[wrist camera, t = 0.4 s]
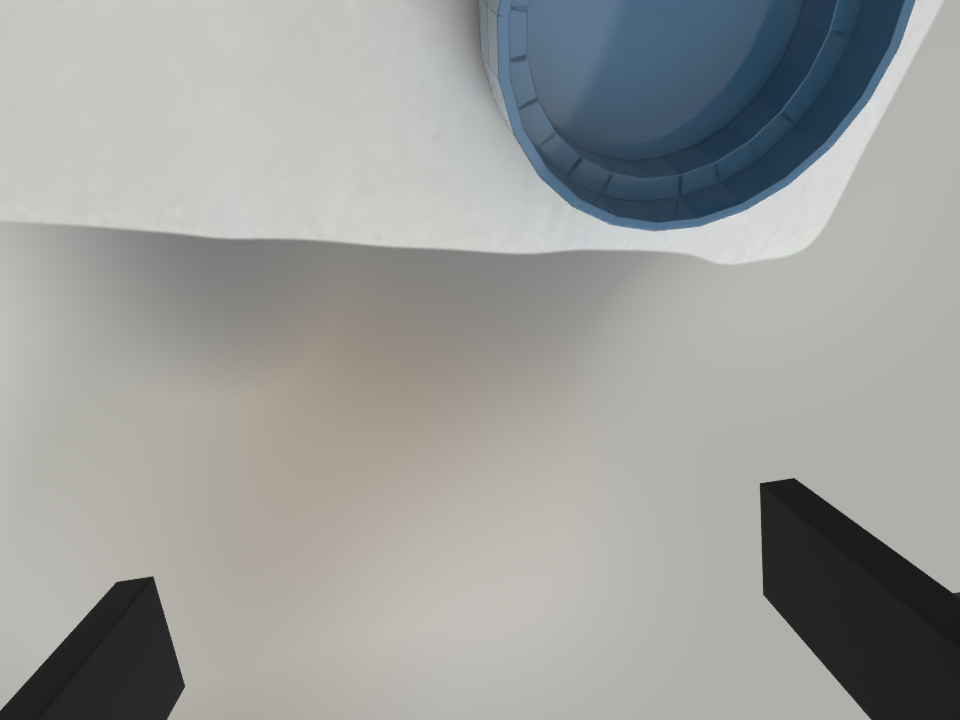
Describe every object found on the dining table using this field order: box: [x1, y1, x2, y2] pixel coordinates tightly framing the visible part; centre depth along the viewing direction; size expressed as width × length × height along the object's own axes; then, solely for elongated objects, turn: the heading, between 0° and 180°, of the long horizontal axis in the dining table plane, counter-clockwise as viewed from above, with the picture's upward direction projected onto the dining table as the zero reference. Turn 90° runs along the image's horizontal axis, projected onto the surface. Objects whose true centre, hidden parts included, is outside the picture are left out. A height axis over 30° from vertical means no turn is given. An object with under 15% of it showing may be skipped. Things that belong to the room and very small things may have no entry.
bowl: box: [479, 0, 915, 231], centre depth 33 cm, size 21×21×7 cm
